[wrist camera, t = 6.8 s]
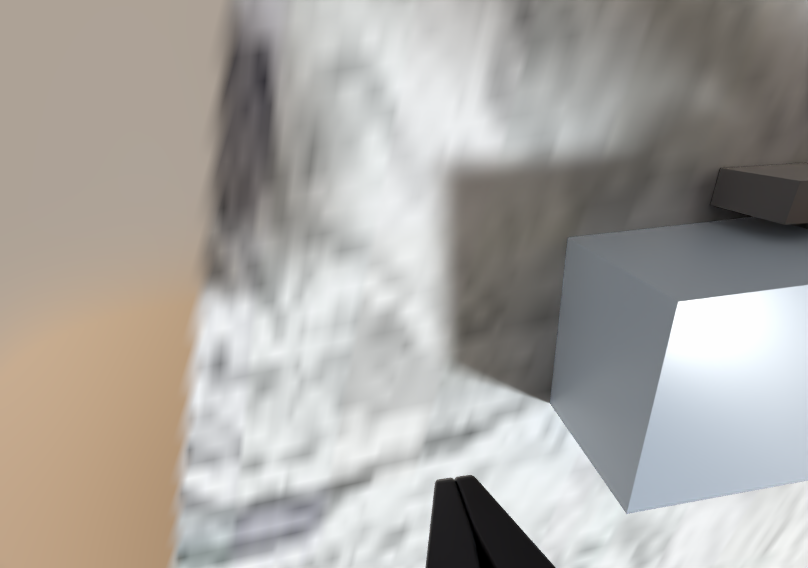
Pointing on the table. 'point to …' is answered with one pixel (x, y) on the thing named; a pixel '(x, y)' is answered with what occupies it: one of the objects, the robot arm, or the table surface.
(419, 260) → the table surface
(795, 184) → the clip bracket
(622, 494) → the blue-gray block
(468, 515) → the robot arm
